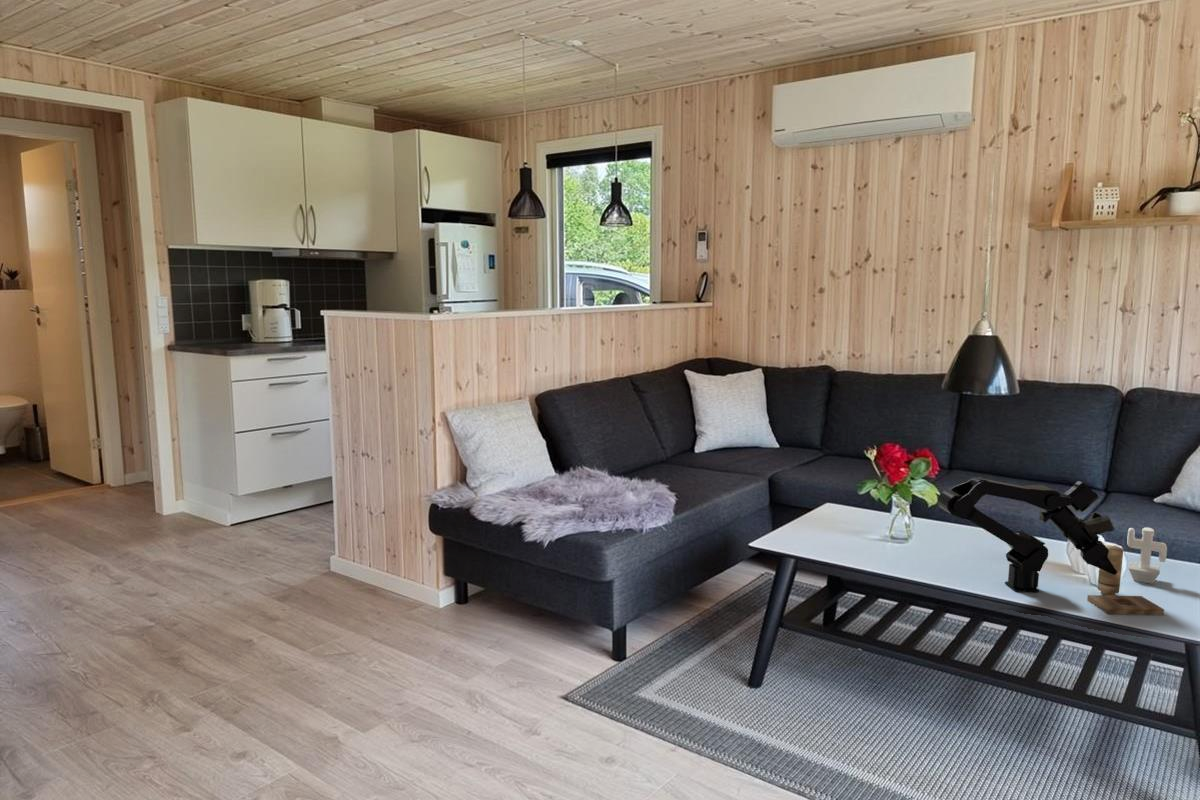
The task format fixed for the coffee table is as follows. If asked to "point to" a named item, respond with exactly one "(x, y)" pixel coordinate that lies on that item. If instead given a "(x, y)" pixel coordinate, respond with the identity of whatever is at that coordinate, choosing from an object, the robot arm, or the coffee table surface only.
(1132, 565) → the figurine
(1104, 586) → the oak peg
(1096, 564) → the robot arm
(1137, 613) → the walnut board
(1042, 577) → the coffee table surface
